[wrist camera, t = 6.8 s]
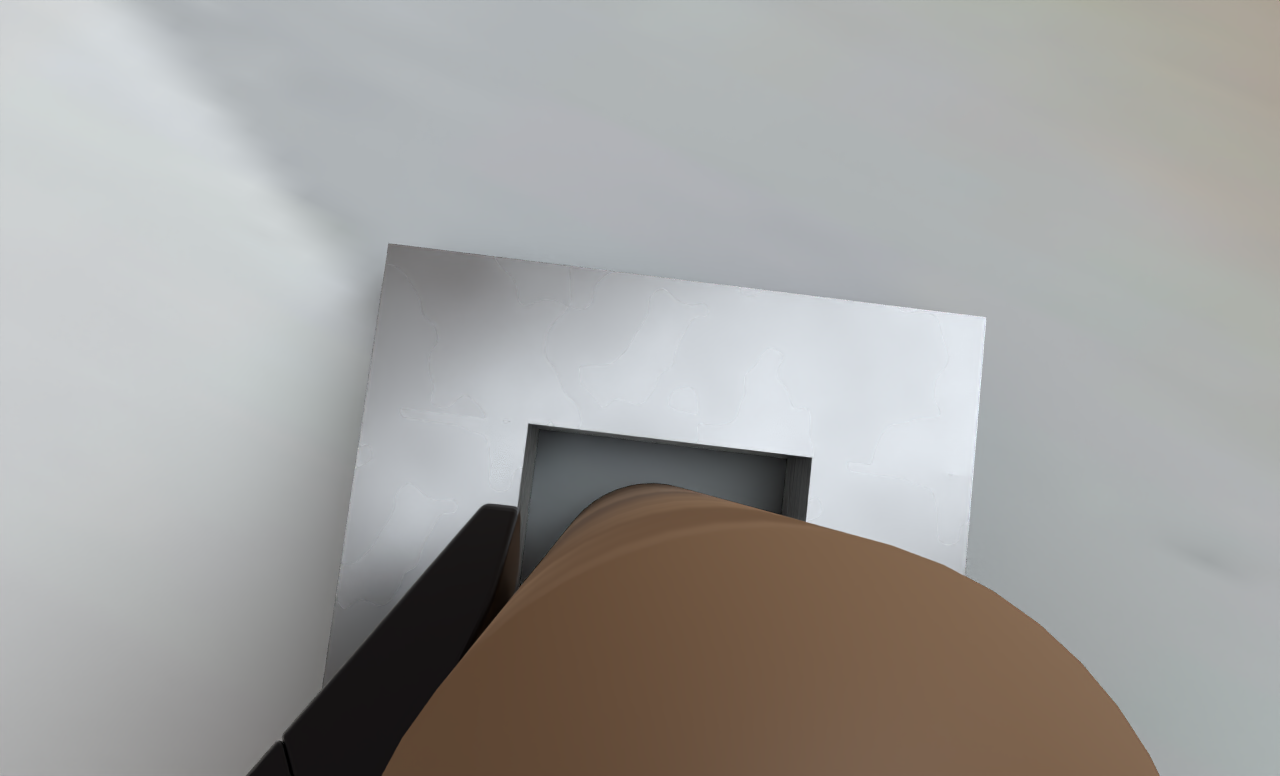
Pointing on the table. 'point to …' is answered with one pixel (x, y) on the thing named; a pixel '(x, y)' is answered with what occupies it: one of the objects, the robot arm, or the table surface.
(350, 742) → the robot arm
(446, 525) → the hole collar
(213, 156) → the table surface
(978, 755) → the tall pin
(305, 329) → the table surface
